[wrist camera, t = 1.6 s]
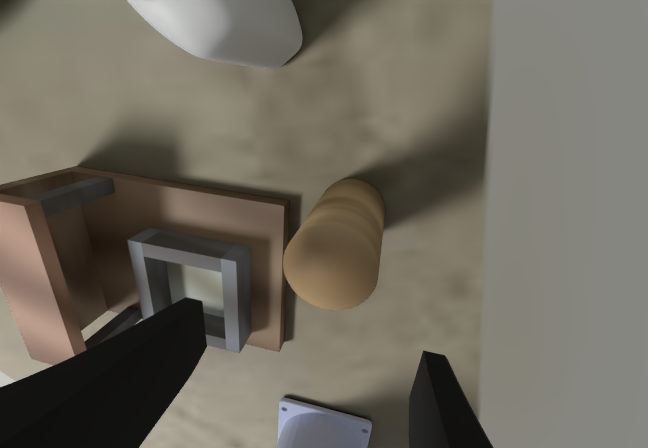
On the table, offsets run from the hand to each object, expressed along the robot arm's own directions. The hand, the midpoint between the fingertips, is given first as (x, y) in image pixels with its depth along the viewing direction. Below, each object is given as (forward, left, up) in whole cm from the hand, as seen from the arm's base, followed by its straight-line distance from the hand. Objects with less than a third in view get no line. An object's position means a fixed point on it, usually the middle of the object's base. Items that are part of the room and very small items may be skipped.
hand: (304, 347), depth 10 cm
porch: (-5, +12, -11) cm, 17 cm away
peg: (+1, 0, -11) cm, 11 cm away
